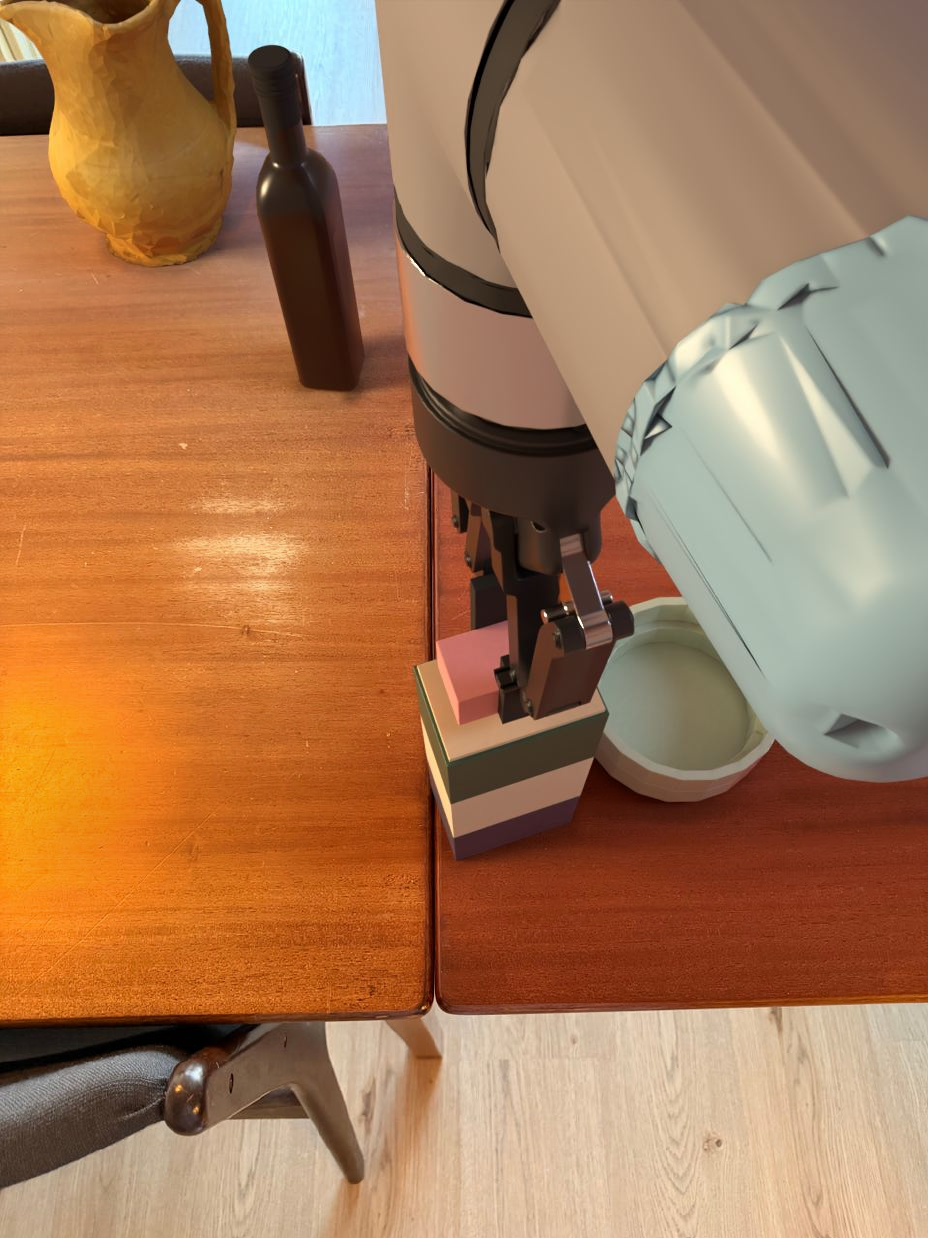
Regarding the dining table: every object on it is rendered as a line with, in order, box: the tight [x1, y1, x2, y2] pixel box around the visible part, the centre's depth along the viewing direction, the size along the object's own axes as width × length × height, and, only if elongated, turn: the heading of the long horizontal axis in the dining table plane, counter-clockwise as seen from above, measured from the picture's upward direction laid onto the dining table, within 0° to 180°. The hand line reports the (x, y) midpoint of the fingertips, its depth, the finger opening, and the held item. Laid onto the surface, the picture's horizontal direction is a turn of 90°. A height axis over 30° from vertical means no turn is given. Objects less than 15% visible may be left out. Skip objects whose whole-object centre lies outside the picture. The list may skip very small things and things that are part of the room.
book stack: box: [412, 658, 609, 862], centre depth 58 cm, size 6×9×22 cm, turn 108°
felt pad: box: [416, 658, 605, 762], centre depth 48 cm, size 6×9×1 cm, turn 109°
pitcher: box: [0, 0, 238, 268], centre depth 86 cm, size 17×19×25 cm
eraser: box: [435, 620, 509, 725], centre depth 45 cm, size 7×4×3 cm, turn 108°
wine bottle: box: [247, 44, 366, 393], centre depth 74 cm, size 6×6×30 cm
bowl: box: [594, 596, 776, 803], centre depth 68 cm, size 14×14×6 cm
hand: (511, 673), depth 46 cm, fingers closed on eraser, 3 cm apart
